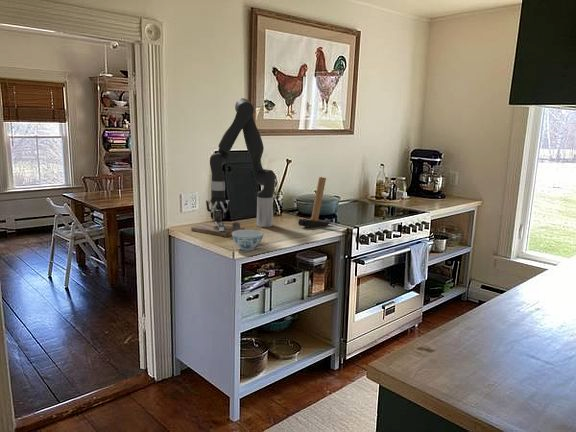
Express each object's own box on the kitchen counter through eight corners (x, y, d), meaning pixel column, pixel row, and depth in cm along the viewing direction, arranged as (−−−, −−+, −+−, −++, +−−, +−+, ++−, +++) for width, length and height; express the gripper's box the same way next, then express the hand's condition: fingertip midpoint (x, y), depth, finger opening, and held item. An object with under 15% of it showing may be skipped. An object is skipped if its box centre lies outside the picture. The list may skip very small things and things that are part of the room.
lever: (225, 230, 242) (225, 216, 240) (217, 231, 241) (217, 216, 239) (220, 223, 260) (220, 209, 258) (213, 223, 259) (213, 209, 257)
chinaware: (243, 243, 227) (243, 228, 226) (269, 247, 220) (269, 232, 219) (225, 249, 214) (225, 233, 213) (252, 254, 207) (252, 238, 206)
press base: (211, 225, 265) (211, 217, 265) (244, 231, 254) (244, 222, 253) (191, 230, 251) (191, 221, 250) (225, 236, 239) (225, 227, 238)
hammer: (324, 228, 277) (333, 179, 275) (329, 229, 273) (338, 180, 271) (297, 225, 266) (307, 174, 264) (302, 226, 262) (312, 175, 259)
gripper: (205, 190, 248) (205, 220, 252) (231, 189, 252) (231, 219, 255) (204, 188, 255) (204, 217, 259) (230, 188, 259) (230, 217, 262)
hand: (218, 218), depth 257 cm, fingers open, 6 cm apart
